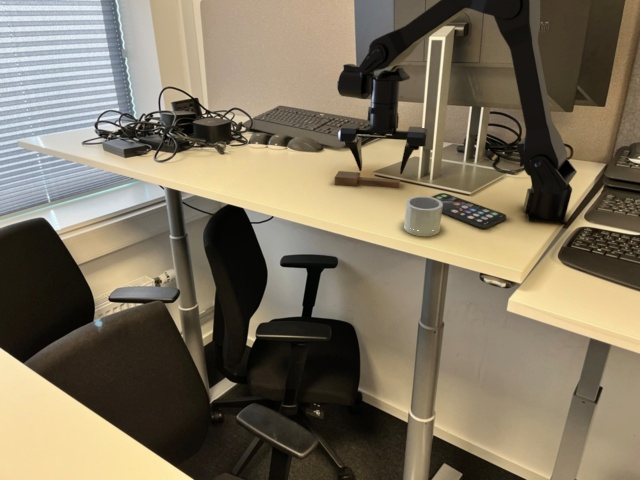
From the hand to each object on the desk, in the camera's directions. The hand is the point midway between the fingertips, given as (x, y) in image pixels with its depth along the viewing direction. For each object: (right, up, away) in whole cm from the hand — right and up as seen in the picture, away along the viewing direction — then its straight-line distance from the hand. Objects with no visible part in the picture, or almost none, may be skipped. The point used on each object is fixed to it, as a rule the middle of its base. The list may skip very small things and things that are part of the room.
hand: (380, 172), depth 105 cm
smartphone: (+13, -10, -16) cm, 23 cm away
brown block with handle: (-3, -3, -2) cm, 5 cm away
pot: (+4, -13, -22) cm, 26 cm away
